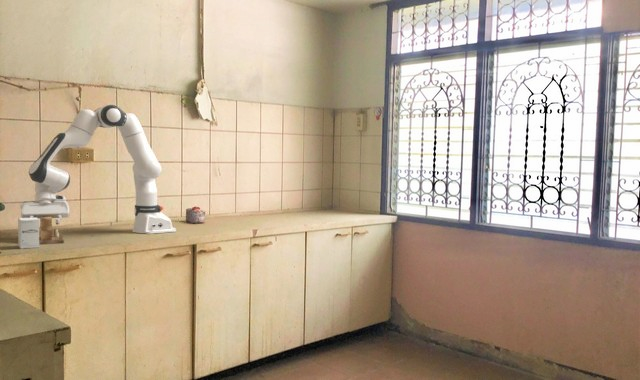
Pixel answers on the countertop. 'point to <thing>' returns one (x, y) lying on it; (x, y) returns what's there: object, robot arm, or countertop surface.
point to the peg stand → (53, 239)
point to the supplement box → (28, 233)
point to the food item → (195, 215)
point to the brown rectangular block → (46, 228)
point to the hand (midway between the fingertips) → (46, 224)
